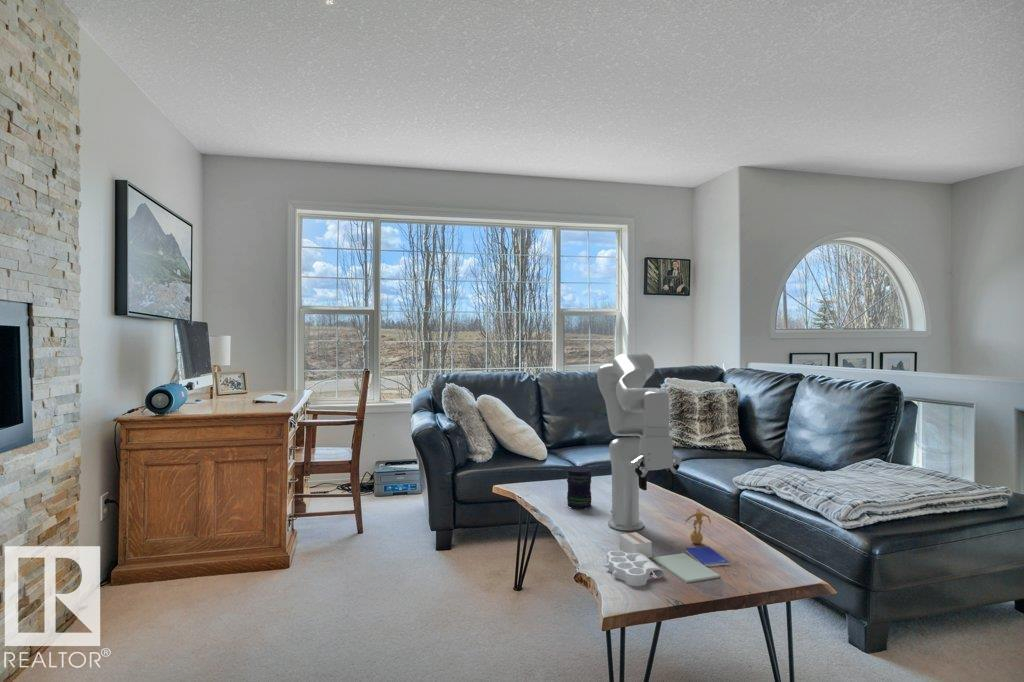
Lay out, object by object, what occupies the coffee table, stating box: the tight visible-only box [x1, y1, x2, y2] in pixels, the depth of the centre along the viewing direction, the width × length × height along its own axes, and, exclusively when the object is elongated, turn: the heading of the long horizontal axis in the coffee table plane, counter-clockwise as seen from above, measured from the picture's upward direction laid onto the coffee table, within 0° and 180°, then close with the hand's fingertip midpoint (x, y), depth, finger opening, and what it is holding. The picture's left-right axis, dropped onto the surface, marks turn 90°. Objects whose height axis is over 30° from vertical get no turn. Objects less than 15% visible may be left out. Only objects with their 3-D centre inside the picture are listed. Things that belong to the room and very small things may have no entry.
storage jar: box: [566, 465, 592, 510], centre depth 221 cm, size 10×10×15 cm
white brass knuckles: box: [603, 550, 665, 587], centre depth 157 cm, size 3×18×15 cm
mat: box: [652, 552, 721, 584], centre depth 159 cm, size 17×11×1 cm, turn 17°
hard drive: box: [685, 546, 731, 567], centre depth 167 cm, size 2×8×12 cm
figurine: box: [685, 508, 712, 545], centre depth 178 cm, size 8×6×12 cm
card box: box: [619, 531, 653, 559], centre depth 171 cm, size 9×6×5 cm, turn 19°
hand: (656, 487), depth 165 cm, fingers open, 9 cm apart
